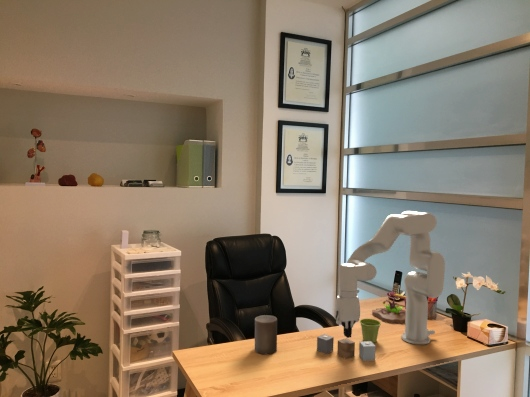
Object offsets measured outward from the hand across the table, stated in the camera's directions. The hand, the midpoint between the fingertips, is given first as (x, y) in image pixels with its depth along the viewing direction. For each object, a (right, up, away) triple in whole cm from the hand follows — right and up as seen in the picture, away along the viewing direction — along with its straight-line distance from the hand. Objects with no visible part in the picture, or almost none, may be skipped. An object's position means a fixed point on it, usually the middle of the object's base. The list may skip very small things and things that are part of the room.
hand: (347, 336), depth 174 cm
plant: (+35, -7, +50) cm, 61 cm away
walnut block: (-1, -8, 0) cm, 8 cm away
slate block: (+8, -8, -2) cm, 11 cm away
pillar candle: (-34, -7, +4) cm, 35 cm away
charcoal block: (-9, -8, +5) cm, 13 cm away
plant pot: (+13, -8, +16) cm, 22 cm away
